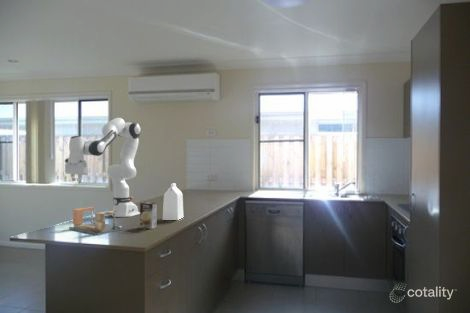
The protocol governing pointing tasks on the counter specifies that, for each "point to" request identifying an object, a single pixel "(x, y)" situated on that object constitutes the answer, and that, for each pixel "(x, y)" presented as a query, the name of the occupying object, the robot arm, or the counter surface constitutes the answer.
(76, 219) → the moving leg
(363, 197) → the counter surface
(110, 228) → the hole plate
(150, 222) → the coffee box
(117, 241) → the counter surface
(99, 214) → the fixed leg
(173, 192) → the milk
